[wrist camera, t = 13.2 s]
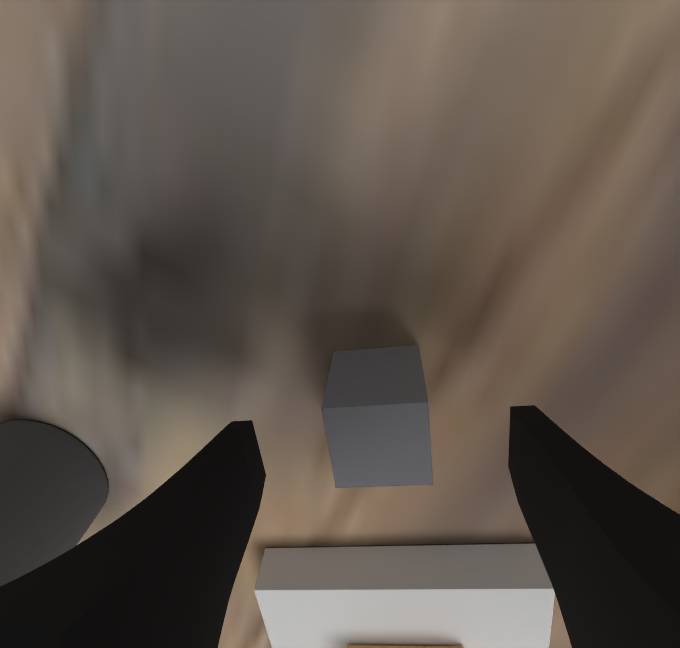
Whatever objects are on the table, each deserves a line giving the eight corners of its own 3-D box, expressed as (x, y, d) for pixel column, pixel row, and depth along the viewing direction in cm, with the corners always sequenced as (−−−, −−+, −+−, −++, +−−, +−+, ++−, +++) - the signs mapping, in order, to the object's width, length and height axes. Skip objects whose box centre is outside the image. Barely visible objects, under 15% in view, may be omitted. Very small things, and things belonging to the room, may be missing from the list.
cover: (521, 229, 14) (572, 268, 10) (513, 471, 18) (547, 561, 14) (222, 261, 15) (171, 306, 12) (276, 480, 19) (251, 565, 16)
